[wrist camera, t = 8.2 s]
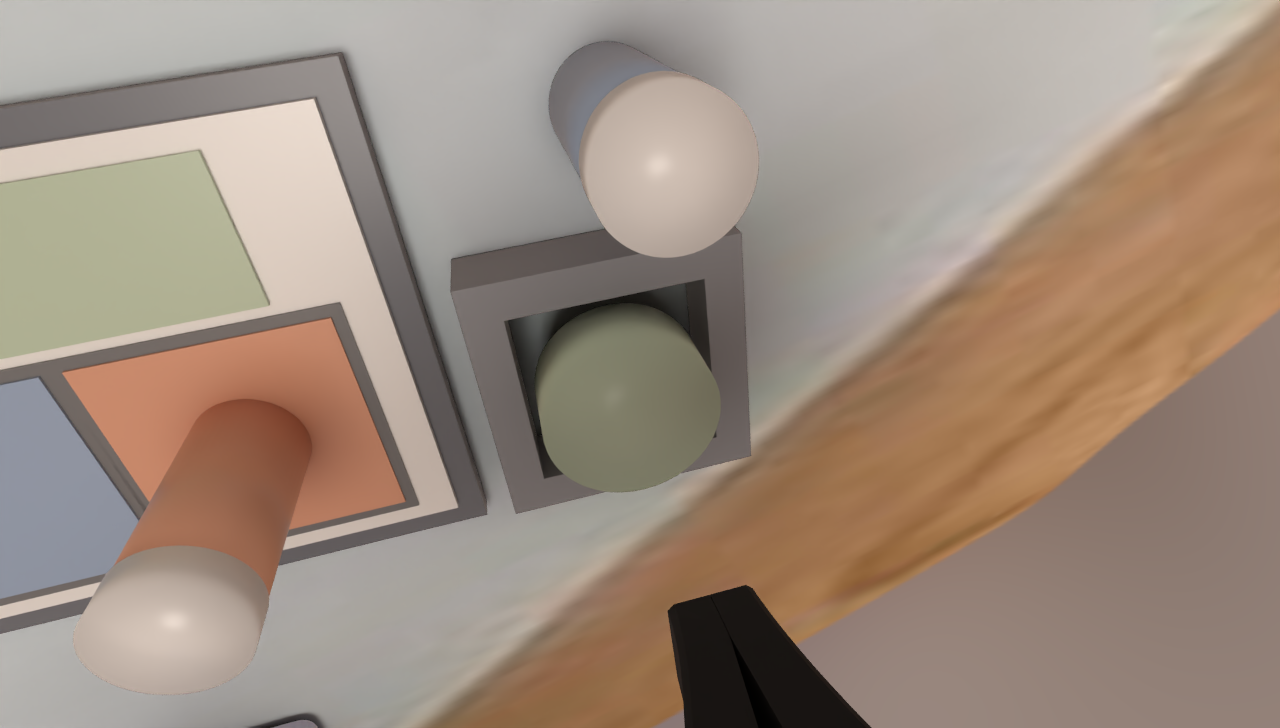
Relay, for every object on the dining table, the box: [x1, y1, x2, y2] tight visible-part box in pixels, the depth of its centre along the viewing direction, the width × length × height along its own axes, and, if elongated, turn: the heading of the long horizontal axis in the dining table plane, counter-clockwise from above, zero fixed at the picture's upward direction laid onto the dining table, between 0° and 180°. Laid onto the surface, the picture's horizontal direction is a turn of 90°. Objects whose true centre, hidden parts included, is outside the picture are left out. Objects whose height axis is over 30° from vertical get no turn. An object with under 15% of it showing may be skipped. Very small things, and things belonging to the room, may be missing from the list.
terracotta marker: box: [73, 399, 312, 695], centre depth 15 cm, size 3×3×6 cm
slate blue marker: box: [549, 41, 759, 258], centre depth 14 cm, size 3×3×6 cm
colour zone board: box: [0, 52, 487, 634], centre depth 17 cm, size 13×16×1 cm
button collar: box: [451, 226, 751, 514], centre depth 19 cm, size 7×7×2 cm
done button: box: [534, 303, 721, 492], centre depth 17 cm, size 4×4×2 cm
